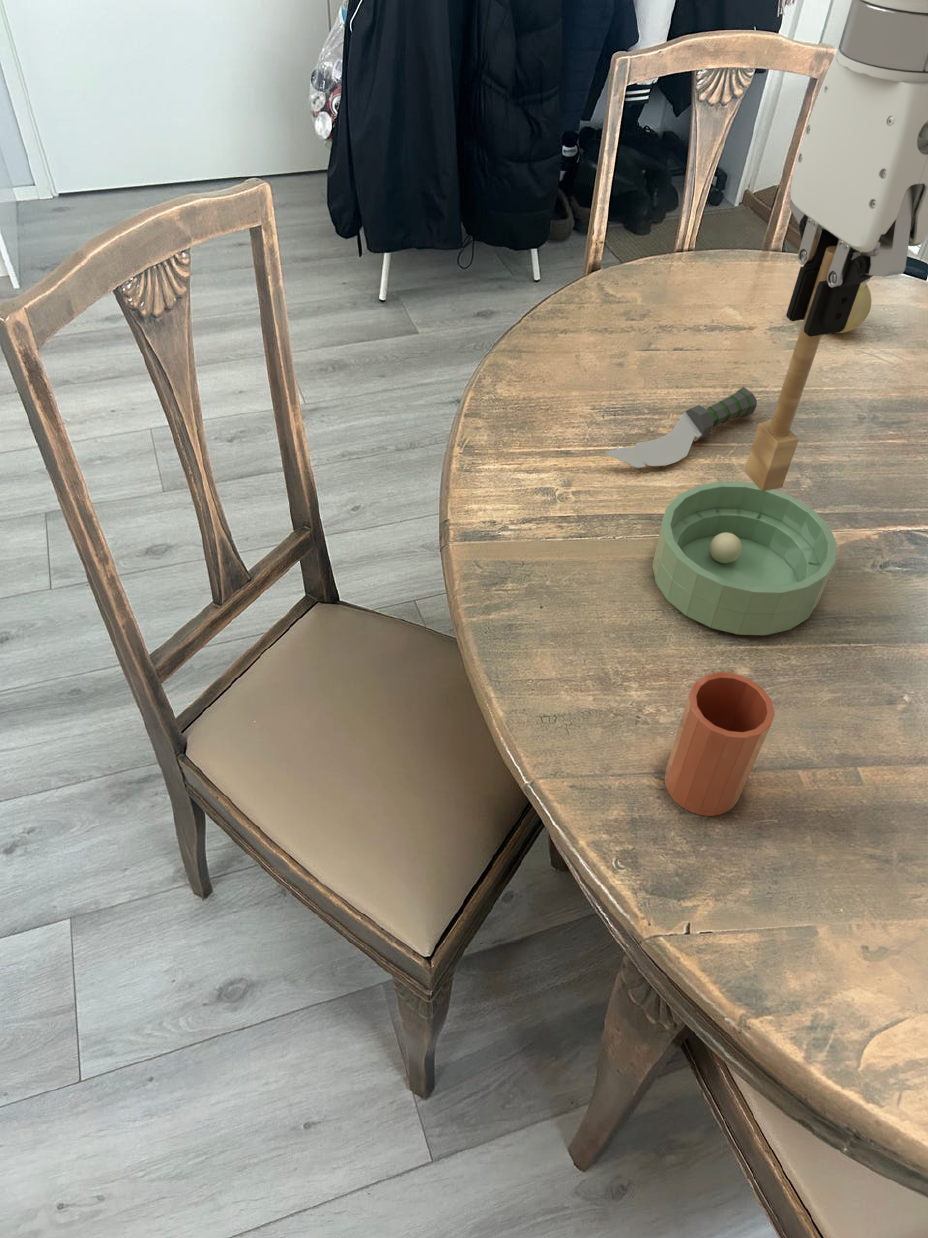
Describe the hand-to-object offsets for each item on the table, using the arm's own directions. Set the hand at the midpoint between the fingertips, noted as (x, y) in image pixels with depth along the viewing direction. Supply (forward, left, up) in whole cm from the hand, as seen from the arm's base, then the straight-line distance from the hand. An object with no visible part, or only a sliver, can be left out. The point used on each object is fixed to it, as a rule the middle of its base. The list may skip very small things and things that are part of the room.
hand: (814, 323), depth 66 cm
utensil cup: (-20, +14, -27) cm, 36 cm away
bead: (+3, 0, -25) cm, 25 cm away
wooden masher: (0, 0, -15) cm, 15 cm away
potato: (+41, -38, -27) cm, 62 cm away
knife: (+22, -6, -27) cm, 35 cm away
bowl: (0, 0, -27) cm, 27 cm away
